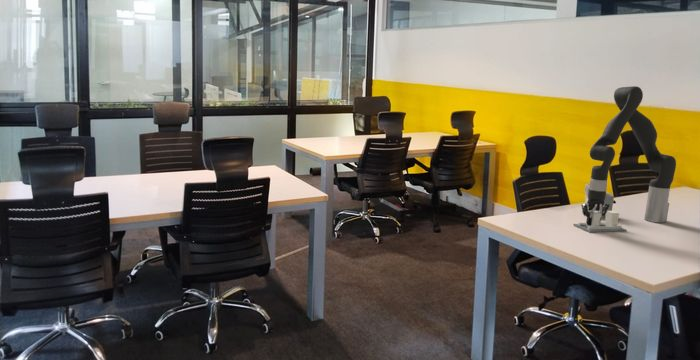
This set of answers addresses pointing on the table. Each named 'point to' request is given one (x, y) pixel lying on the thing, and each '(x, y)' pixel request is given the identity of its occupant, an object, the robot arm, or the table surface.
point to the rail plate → (604, 224)
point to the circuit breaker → (607, 200)
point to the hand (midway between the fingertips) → (592, 224)
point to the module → (595, 219)
